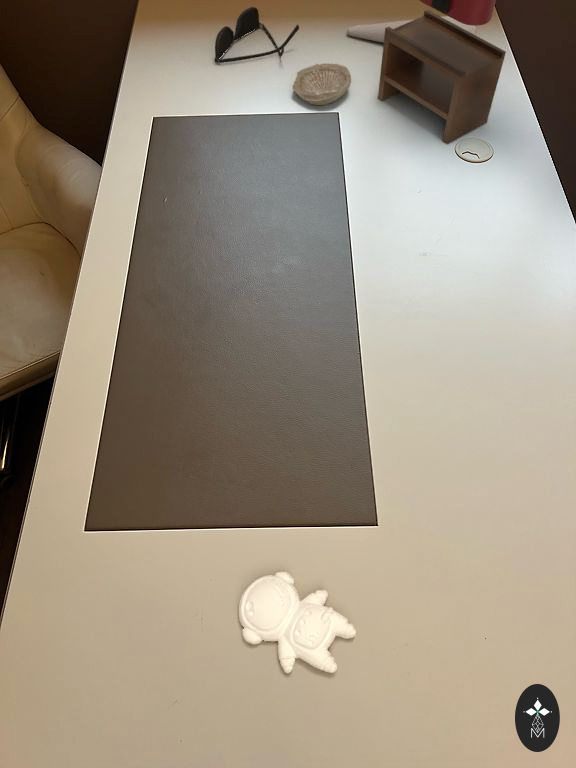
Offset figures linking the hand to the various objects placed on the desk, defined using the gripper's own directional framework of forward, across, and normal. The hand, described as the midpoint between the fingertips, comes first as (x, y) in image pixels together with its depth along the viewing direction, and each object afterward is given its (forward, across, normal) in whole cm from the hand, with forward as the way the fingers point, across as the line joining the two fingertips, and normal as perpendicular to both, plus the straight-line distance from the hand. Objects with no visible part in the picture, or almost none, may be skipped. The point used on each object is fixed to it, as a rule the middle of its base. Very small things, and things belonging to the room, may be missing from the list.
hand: (454, 1), depth 97 cm
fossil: (+20, +11, -19) cm, 29 cm away
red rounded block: (+1, 0, 0) cm, 1 cm away
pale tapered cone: (+20, -12, -19) cm, 30 cm away
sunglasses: (+20, +11, -38) cm, 44 cm away
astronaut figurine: (+20, +74, +54) cm, 94 cm away
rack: (+20, -1, -2) cm, 20 cm away
